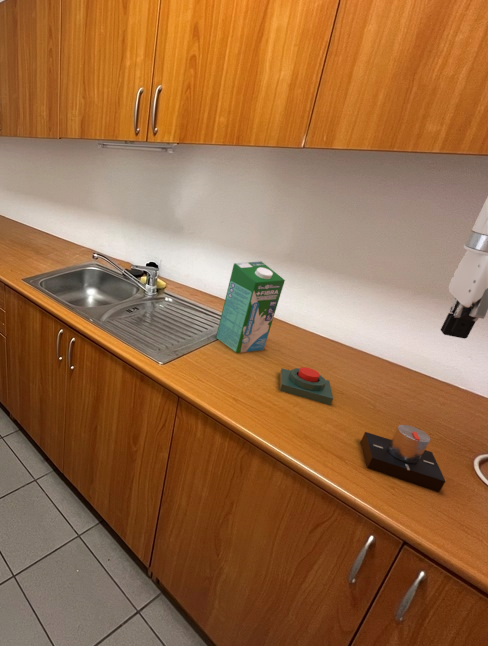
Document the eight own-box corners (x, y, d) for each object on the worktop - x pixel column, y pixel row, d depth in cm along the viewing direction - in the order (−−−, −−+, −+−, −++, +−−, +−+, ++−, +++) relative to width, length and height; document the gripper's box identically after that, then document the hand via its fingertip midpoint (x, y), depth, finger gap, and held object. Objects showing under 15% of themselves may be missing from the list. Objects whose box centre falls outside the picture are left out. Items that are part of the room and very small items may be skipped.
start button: (317, 376, 99) (319, 370, 98) (318, 384, 96) (320, 378, 95) (297, 371, 101) (299, 365, 101) (298, 379, 98) (300, 373, 97)
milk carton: (236, 353, 115) (258, 274, 106) (215, 337, 123) (233, 262, 114) (264, 350, 116) (287, 272, 107) (241, 334, 125) (261, 260, 115)
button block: (326, 387, 101) (331, 374, 99) (330, 405, 94) (335, 392, 93) (279, 374, 106) (283, 362, 104) (279, 391, 100) (284, 378, 98)
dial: (384, 442, 80) (395, 420, 78) (414, 451, 78) (427, 429, 75) (390, 457, 77) (401, 434, 74) (421, 467, 74) (434, 444, 72)
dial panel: (425, 462, 79) (432, 450, 78) (439, 494, 72) (446, 482, 71) (359, 441, 84) (365, 430, 83) (367, 469, 78) (373, 457, 76)
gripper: (556, 260, 61) (498, 359, 69) (511, 237, 73) (466, 323, 80) (484, 252, 65) (437, 347, 72) (453, 231, 77) (415, 314, 84)
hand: (453, 334), depth 76 cm, fingers closed
